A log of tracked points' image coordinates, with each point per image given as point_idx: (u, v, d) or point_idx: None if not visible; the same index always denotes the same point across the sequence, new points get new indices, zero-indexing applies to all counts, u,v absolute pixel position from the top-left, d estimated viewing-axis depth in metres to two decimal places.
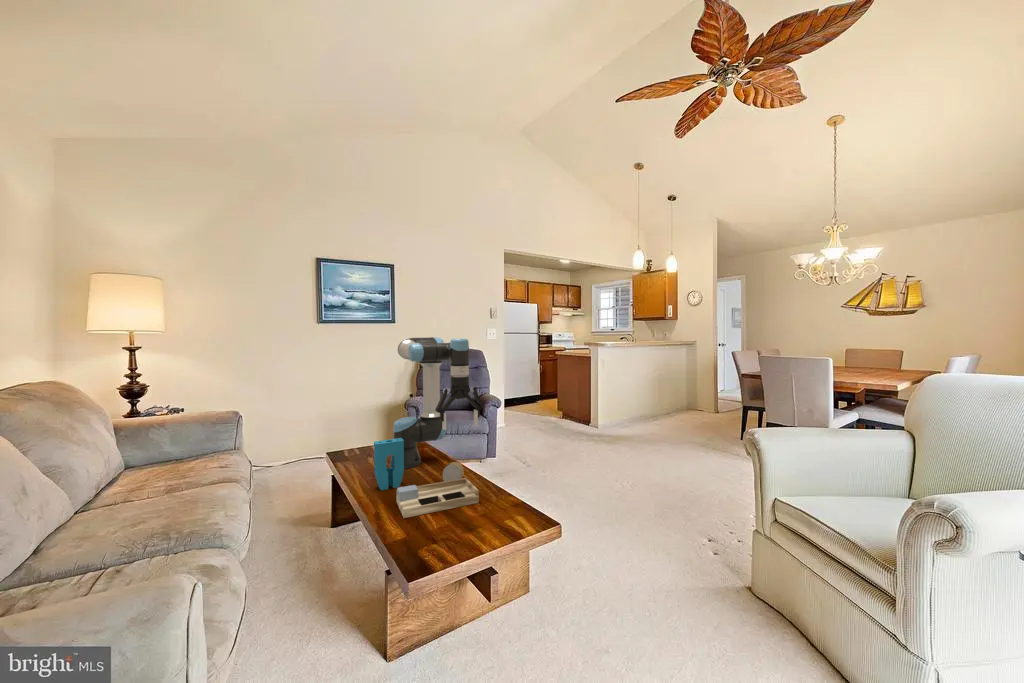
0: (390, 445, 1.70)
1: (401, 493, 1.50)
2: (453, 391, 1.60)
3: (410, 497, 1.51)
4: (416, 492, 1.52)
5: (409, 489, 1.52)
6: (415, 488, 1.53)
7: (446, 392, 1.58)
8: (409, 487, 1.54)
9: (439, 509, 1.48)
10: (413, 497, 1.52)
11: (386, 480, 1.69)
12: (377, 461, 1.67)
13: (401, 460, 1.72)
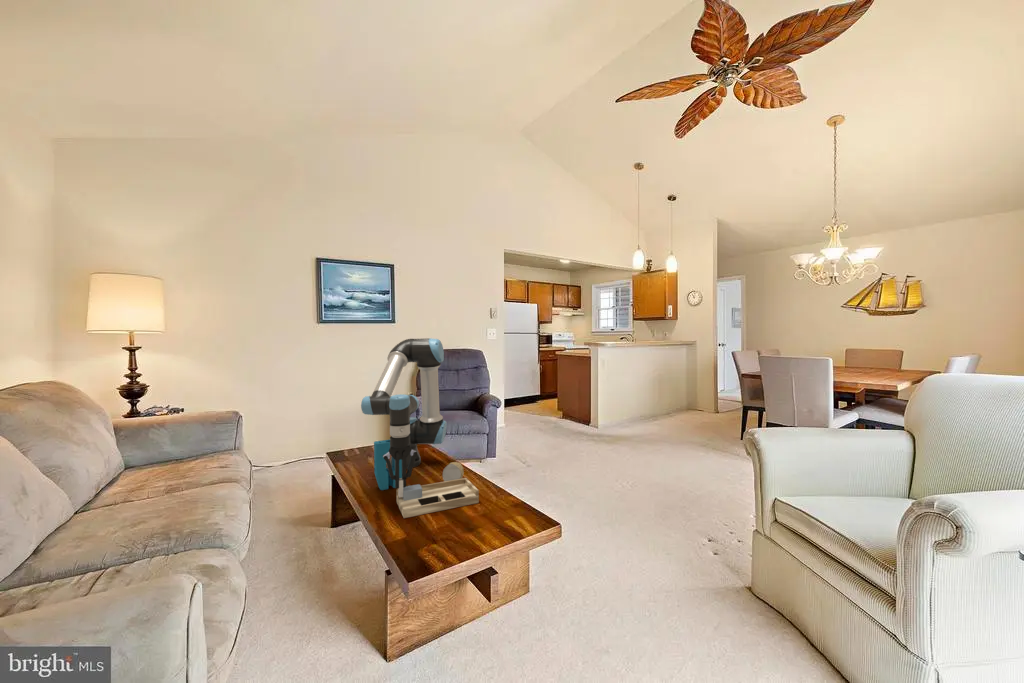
0: None
1: (405, 492, 1.50)
2: (392, 452, 1.50)
3: (415, 496, 1.52)
4: (420, 491, 1.53)
5: (413, 489, 1.53)
6: (419, 487, 1.54)
7: (387, 458, 1.49)
8: (413, 487, 1.54)
9: (439, 509, 1.48)
10: (417, 496, 1.52)
11: (386, 480, 1.69)
12: (377, 461, 1.67)
13: (401, 460, 1.72)
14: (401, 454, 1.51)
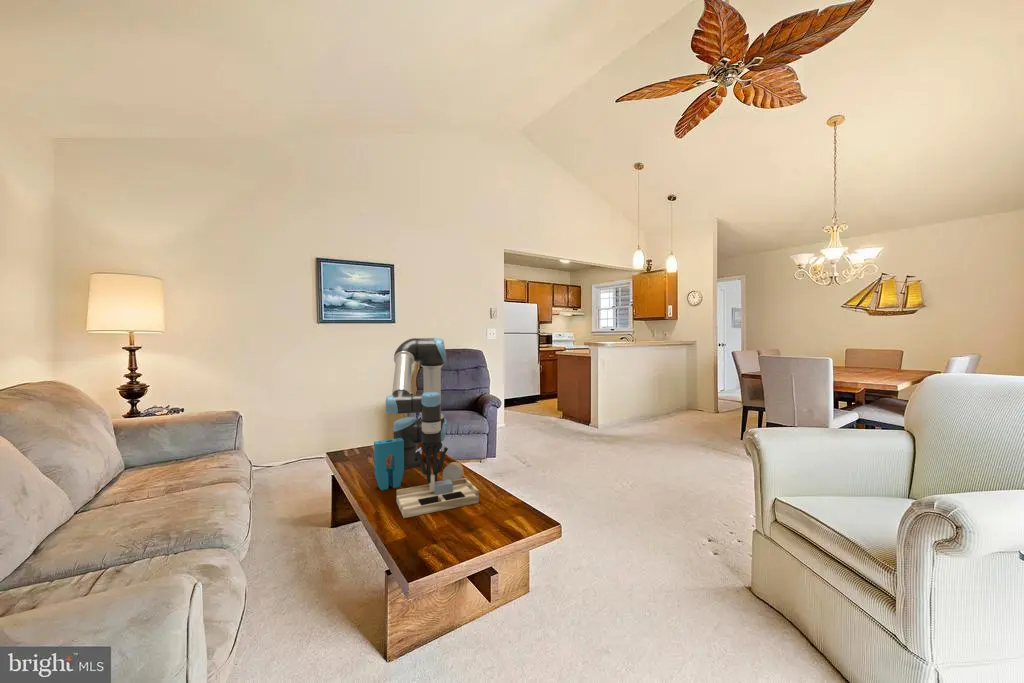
0: (390, 445, 1.70)
1: (437, 487, 1.55)
2: (424, 448, 1.55)
3: (446, 491, 1.57)
4: (451, 486, 1.58)
5: (444, 484, 1.58)
6: (450, 482, 1.59)
7: (419, 454, 1.54)
8: (444, 482, 1.59)
9: (439, 509, 1.48)
10: (448, 491, 1.57)
11: (386, 480, 1.69)
12: (377, 461, 1.67)
13: (401, 460, 1.72)
14: (433, 450, 1.56)
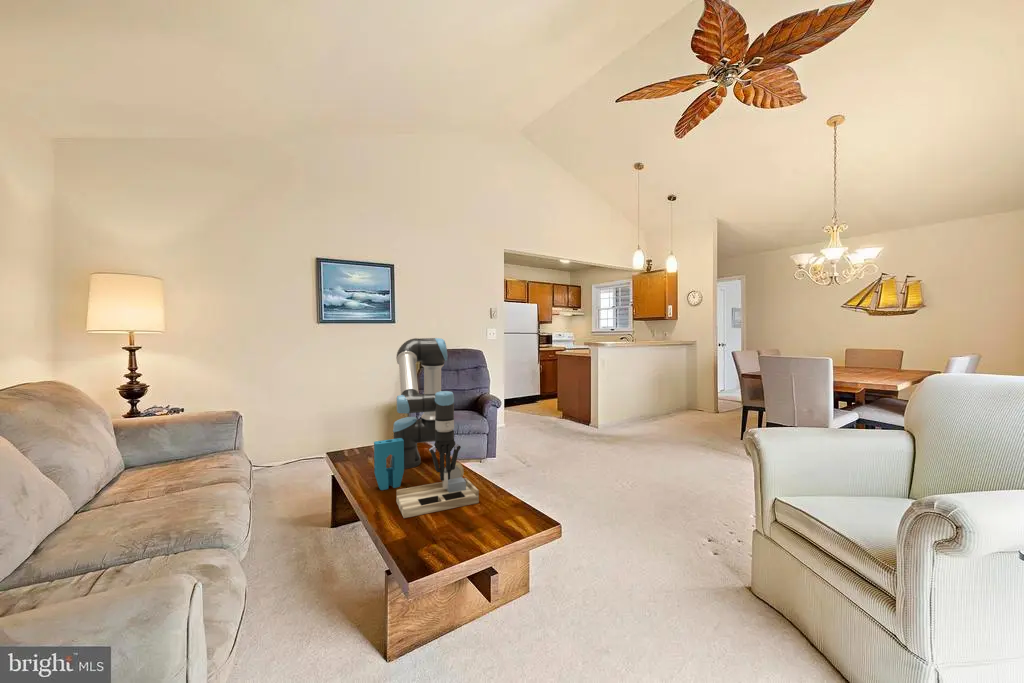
0: (390, 445, 1.70)
1: (450, 484, 1.58)
2: (438, 446, 1.57)
3: (459, 488, 1.59)
4: (464, 484, 1.60)
5: (457, 481, 1.60)
6: (463, 480, 1.61)
7: (433, 452, 1.56)
8: (457, 480, 1.62)
9: (439, 509, 1.48)
10: (461, 489, 1.60)
11: (386, 480, 1.69)
12: (377, 461, 1.67)
13: (401, 460, 1.72)
14: (446, 448, 1.59)
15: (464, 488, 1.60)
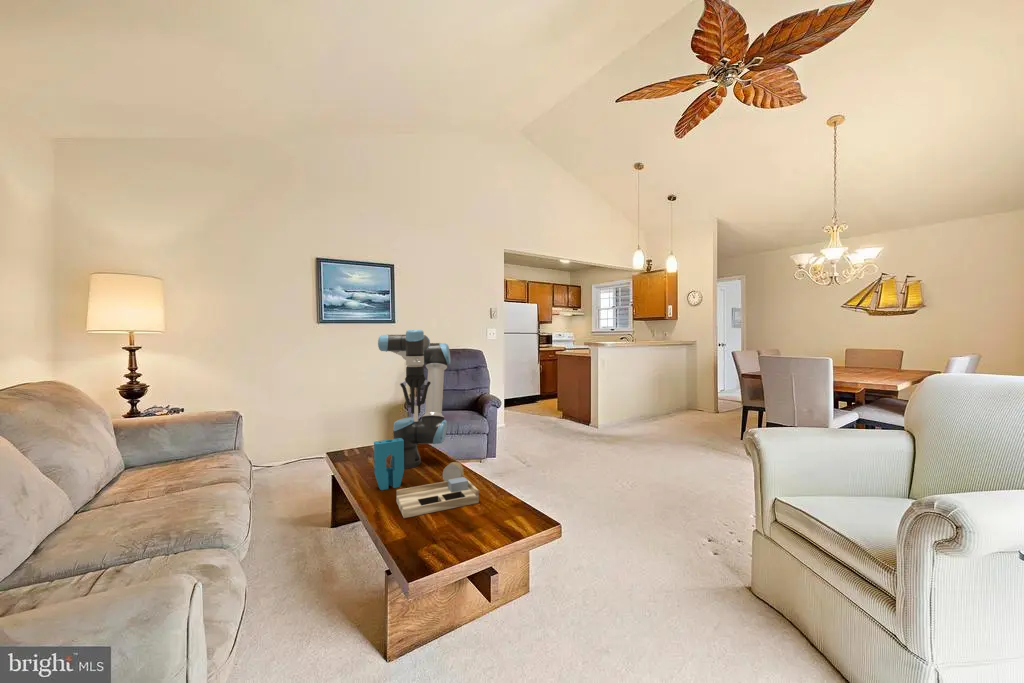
0: (390, 445, 1.70)
1: (452, 484, 1.58)
2: (408, 380, 1.66)
3: (461, 488, 1.60)
4: (466, 484, 1.61)
5: (460, 481, 1.60)
6: (465, 480, 1.62)
7: (403, 385, 1.65)
8: (459, 479, 1.62)
9: (439, 509, 1.48)
10: (463, 488, 1.60)
11: (386, 480, 1.69)
12: (377, 461, 1.67)
13: (401, 460, 1.72)
14: (416, 382, 1.67)
15: (466, 488, 1.61)
